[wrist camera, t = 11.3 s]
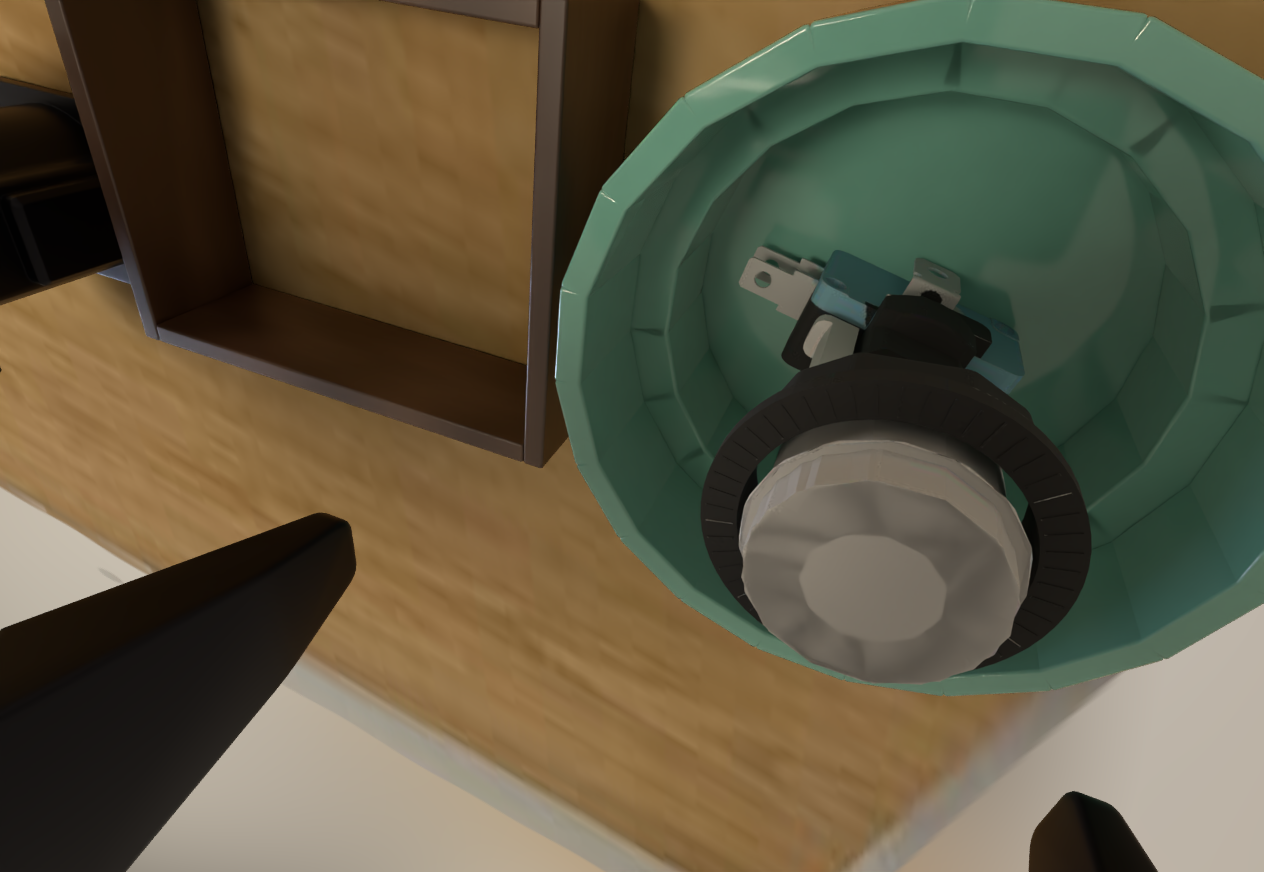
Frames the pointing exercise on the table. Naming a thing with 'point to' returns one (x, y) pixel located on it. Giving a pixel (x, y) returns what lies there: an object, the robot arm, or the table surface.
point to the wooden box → (301, 329)
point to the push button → (893, 482)
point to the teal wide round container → (990, 285)
